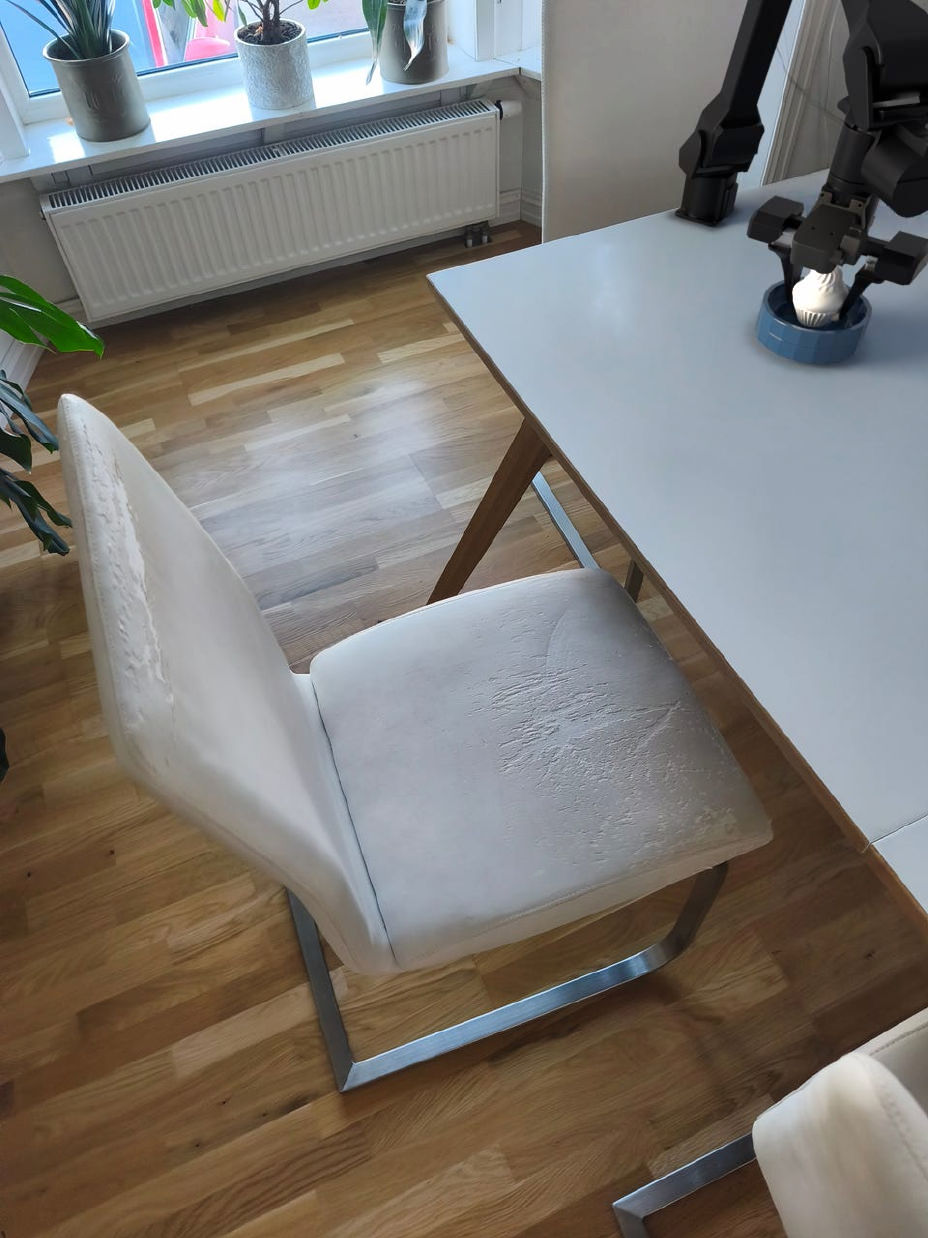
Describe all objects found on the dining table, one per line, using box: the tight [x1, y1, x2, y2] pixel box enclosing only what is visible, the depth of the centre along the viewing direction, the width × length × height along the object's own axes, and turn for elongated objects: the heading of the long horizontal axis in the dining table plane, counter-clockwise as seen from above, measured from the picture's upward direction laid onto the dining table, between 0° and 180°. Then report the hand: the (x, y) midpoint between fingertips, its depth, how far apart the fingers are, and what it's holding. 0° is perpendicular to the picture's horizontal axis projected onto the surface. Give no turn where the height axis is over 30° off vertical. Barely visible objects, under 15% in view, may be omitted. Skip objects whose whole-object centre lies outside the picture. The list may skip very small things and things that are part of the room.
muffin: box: [793, 265, 849, 328], centre depth 98 cm, size 6×6×7 cm
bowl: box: [754, 276, 873, 364], centre depth 101 cm, size 12×12×4 cm
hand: (814, 309), depth 100 cm, fingers closed on muffin, 6 cm apart
